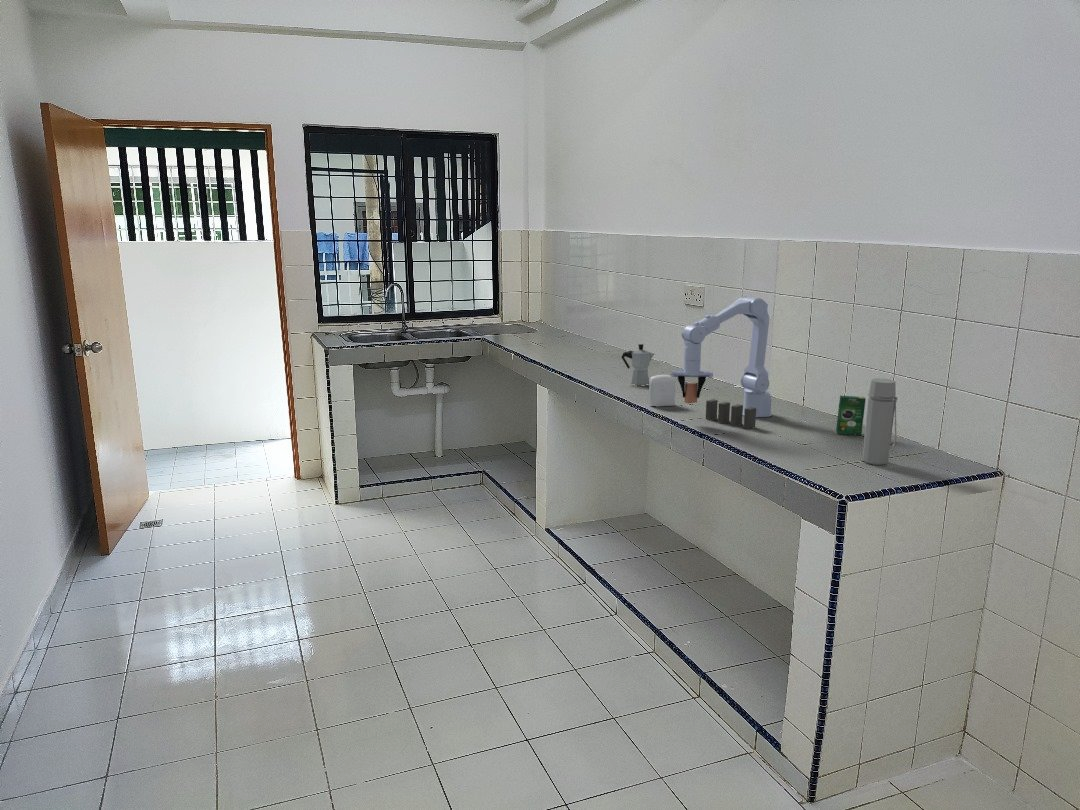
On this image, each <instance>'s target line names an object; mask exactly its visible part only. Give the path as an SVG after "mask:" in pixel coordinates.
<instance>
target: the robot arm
mask: <svg viewBox="0 0 1080 810" xmlns="http://www.w3.org/2000/svg"><path fill="white" fill-rule="evenodd" d="M768 307H769V304H768V303H767V302H766V301H765V300H764V299H763V298H755V297H750V296H746V295H744V296H741V297H740V298H738V299H736V300H734V302H733V303H732V304H730V305H728V306H727V307H726V308H724V309H723V310H721V311H720V312H718V313H716V314H715V315H714V314H706V315H704V318H702V319H700V320H699V321H695V322H694V323H693V325H691V324H690V325H687V326H685V327H684V329H683V331H682V332H681V337H682V339H683V344H684V353H683V354H684V355H683V356H684V357H683V370H671V372H670V376H671V377H674V378H677V381H678V383H679V386H680V388H681V392H682V398H685V383H686V378H697V383H698V390H697V399H699V398H700V395H701V393H702V392H701V391H702V389H703V387H704V385H705V383H706V379H707V378H709V379H713V378H714V372H713V371H705V370H701V358H702V356H701V355H702V352H701V351H702V343H703V342H704V340H705V338H706V336H709V335H710V334H712V333H713V332H715V331H716V330H718V329H719V328H720V326H721V324H722V323H724V322H726V321H728V320H729V319H731V318H734V317H735V316H737V315H744V316H745V317H747V318H748V319H749V320H750V322H751V323H752V330H751V341H750V347H749V348H750V350H749V357H748V358H749V360H748V365H747V366H746V367H745V368H744V369H743V373H742V376H741V377H740V378H741V379H740V384H741V387H742V388H743V391H744V393H743V394H744V395H743V415H742V416H744V412H745V409H746V408H749V407H754V408H756V418H768V417H770V416H771V417H772V414H771V412H772V395H771V393H770V392H769V391H768V389H769V387H770V380H769V372H768V370H767V369H766V368H765V361H766V353H767V345H768V344H767V343H768V337H769V335H768V334H769V327H770V316H769V312H768Z"/></svg>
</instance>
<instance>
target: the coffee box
mask: <svg viewBox="0 0 1080 810" xmlns="http://www.w3.org/2000/svg"><path fill="white" fill-rule="evenodd" d="M865 407H866V397H865V396H855V395H854V396H853V395H839V401H838V411H837V418H836V419H837V420H836V426H835V427H836V430H835V433H836V432H837V433H836V435H843V434H844V435H847V434H856V435H855V436H862V435H863V434H862V433H863V424H864V416H865Z"/></svg>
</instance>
